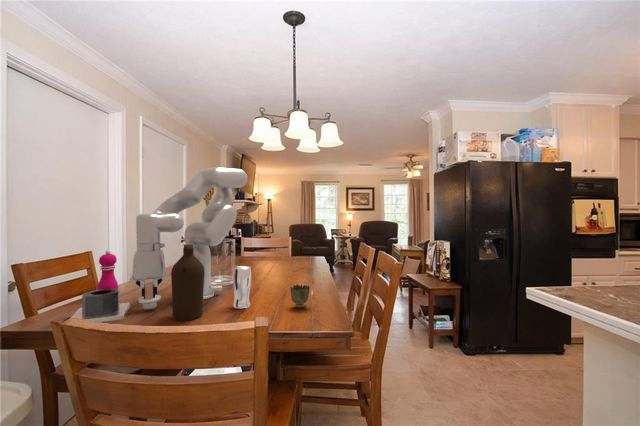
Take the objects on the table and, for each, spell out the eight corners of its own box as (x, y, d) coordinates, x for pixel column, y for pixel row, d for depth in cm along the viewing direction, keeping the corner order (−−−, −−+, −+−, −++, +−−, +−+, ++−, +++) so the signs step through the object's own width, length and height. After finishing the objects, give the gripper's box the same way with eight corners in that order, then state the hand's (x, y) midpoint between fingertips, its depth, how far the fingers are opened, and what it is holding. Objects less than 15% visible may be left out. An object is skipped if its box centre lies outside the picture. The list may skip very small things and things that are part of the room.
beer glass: (254, 305, 116) (255, 266, 116) (243, 310, 110) (243, 269, 110) (240, 302, 119) (240, 265, 119) (228, 307, 113) (228, 268, 112)
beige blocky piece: (161, 302, 114) (161, 280, 114) (160, 308, 107) (160, 285, 107) (139, 305, 111) (139, 282, 110) (137, 311, 104) (136, 287, 104)
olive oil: (208, 317, 102) (209, 244, 102) (175, 324, 96) (175, 246, 96) (198, 309, 111) (199, 242, 110) (167, 315, 104) (168, 243, 104)
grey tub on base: (129, 306, 113) (129, 285, 113) (123, 319, 100) (123, 295, 100) (80, 311, 106) (80, 289, 106) (66, 326, 93) (66, 300, 93)
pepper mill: (107, 301, 118) (107, 251, 118) (92, 300, 120) (92, 250, 120) (122, 296, 126) (122, 249, 125) (108, 295, 127) (108, 248, 127)
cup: (298, 303, 119) (298, 283, 119) (313, 306, 115) (313, 286, 115) (286, 307, 113) (286, 286, 113) (301, 311, 109) (301, 290, 109)
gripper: (173, 245, 115) (173, 292, 116) (124, 247, 108) (125, 297, 109) (173, 247, 108) (173, 297, 109) (121, 250, 101) (122, 303, 102)
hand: (149, 297), depth 109 cm, fingers closed on beige blocky piece
